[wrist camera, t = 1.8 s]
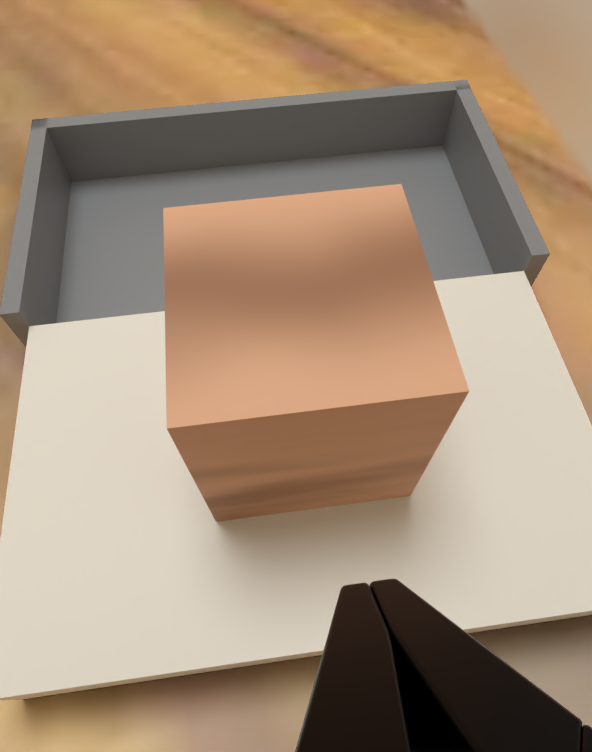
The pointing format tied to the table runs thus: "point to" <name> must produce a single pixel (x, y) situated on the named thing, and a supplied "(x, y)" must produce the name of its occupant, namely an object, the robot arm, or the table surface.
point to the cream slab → (283, 530)
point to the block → (304, 350)
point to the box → (251, 188)
